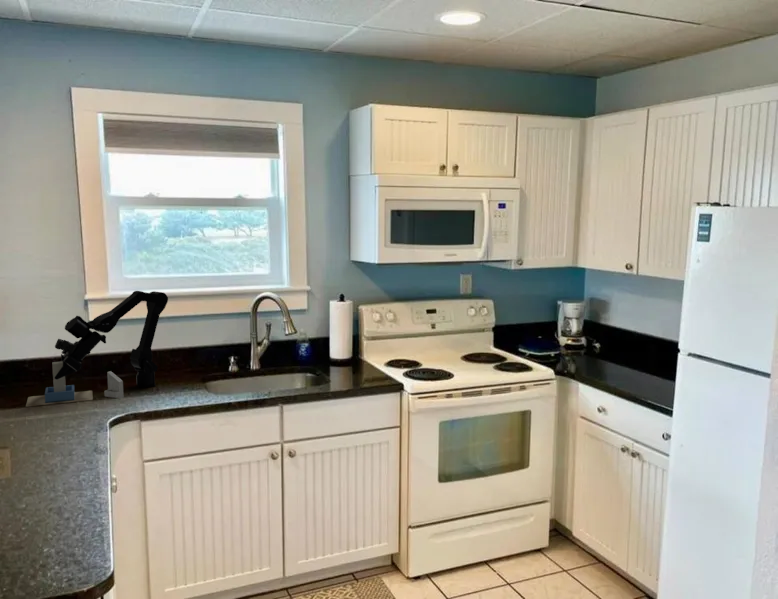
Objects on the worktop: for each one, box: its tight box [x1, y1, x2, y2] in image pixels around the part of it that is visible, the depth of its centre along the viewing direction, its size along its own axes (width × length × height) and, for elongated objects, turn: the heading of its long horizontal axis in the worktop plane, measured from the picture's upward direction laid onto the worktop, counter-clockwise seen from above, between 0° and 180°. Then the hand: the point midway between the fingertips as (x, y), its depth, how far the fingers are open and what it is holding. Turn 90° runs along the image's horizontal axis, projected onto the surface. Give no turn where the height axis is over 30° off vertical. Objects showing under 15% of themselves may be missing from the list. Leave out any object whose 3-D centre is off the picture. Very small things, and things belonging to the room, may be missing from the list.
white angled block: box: [104, 370, 125, 400], centre depth 246 cm, size 4×10×9 cm, turn 68°
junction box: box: [44, 384, 76, 403], centre depth 242 cm, size 10×10×4 cm
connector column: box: [52, 361, 67, 392], centre depth 241 cm, size 4×4×13 cm
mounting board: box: [25, 390, 94, 408], centre depth 242 cm, size 22×14×1 cm, turn 116°
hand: (54, 376), depth 241 cm, fingers open, 8 cm apart
